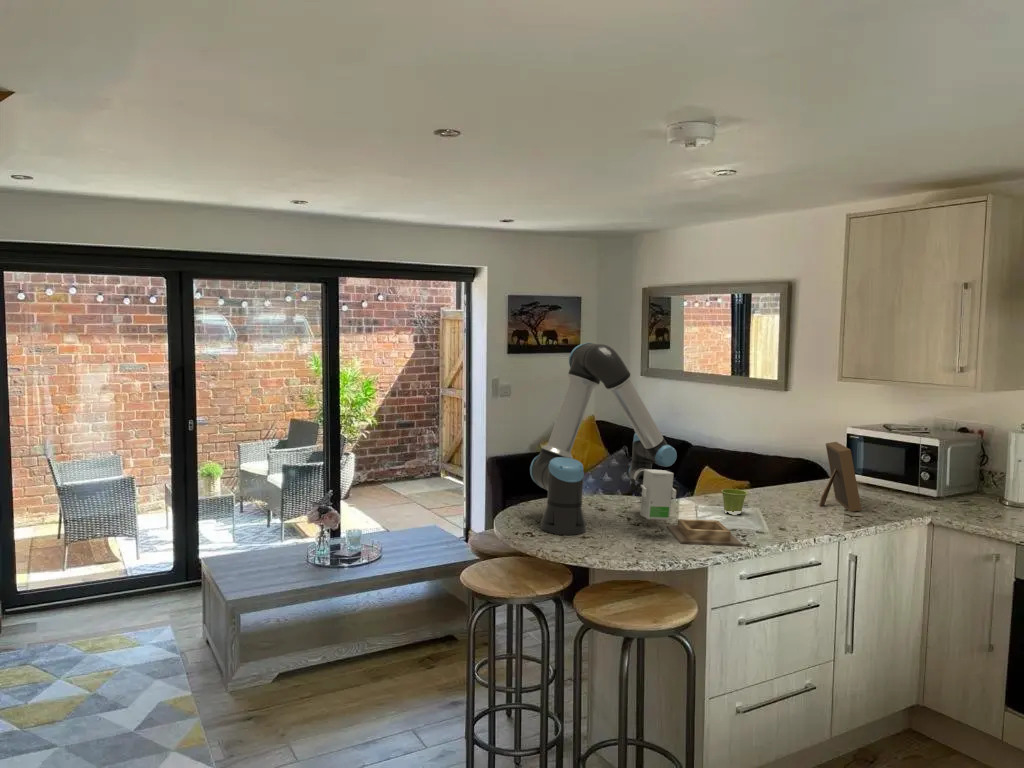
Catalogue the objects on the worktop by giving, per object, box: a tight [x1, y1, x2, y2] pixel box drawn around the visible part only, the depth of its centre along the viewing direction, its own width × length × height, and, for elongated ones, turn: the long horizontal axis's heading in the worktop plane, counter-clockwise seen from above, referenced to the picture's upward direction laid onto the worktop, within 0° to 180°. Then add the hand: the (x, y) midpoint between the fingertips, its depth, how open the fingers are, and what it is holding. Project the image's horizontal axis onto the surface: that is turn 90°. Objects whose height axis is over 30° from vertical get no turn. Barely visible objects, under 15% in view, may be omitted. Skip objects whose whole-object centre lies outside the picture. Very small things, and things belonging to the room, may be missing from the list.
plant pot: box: [721, 488, 748, 512], centre depth 288 cm, size 9×9×9 cm
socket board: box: [666, 518, 743, 547], centre depth 253 cm, size 20×20×4 cm
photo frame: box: [818, 441, 862, 513], centre depth 311 cm, size 15×22×25 cm
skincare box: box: [639, 469, 675, 521], centre depth 250 cm, size 8×7×16 cm
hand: (660, 493), depth 245 cm, fingers closed on skincare box, 9 cm apart
